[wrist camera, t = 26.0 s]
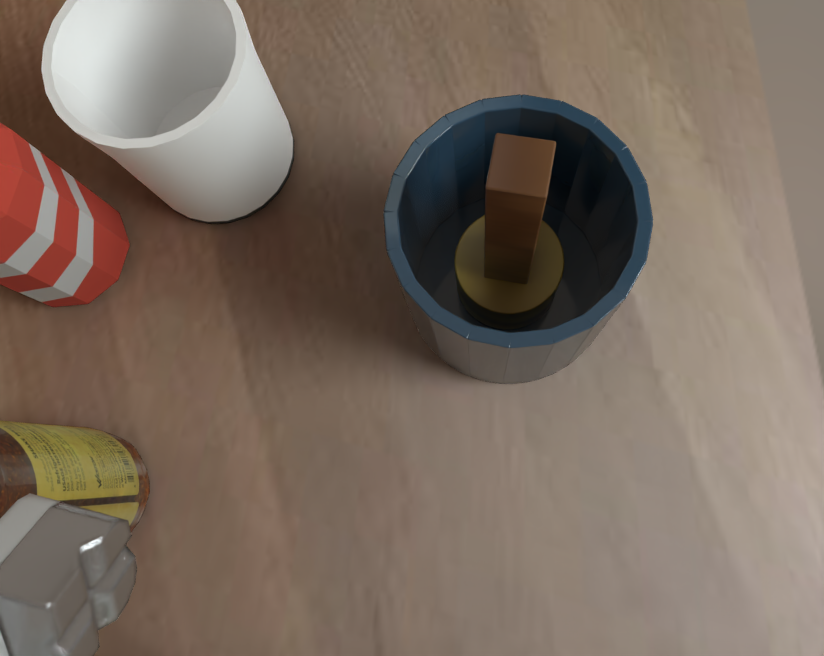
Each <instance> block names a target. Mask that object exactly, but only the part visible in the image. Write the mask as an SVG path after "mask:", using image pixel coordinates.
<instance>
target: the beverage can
mask: <svg viewBox="0 0 824 656" xmlns="http://www.w3.org/2000/svg"><path fill="white" fill-rule="evenodd" d="M129 246H130V244H129V241H128V238H127V235H126V232H125V229H124V226H123V223H122V219H121V216H120V213H119V212H118V211H116V210H115V209H114V208H112V207H111V206H110V205H109V204H107V203H106V202H105V201H103V200H102V199H101V198H99V197H98V196H97V195H96V194H94V193H93V192H92V191H90V190H89V189H88V188H86V187H85V186H84V185H83V184H81V183H80V182H79V181H77V180H76V179H75V178H74V177H72V176H71V175H70V174H68V173H67V172H66V171H64V170H63V169H62V168H61V167H59V166H58V165H57V164H55V163H54V162H53V161H51V160H50V159H49V158H48V157H46V156H45V155H44V154H42V153H41V152H40V151H38V150H37V149H36V148H35V147H33V146H32V145H31V144H29V143H28V142H27V141H26V140H24V139H23V138H22V137H20V136H19V135H18V134H16V133H15V132H14V131H13V130H11V129H10V128H8V127H6V126H5V125H3V124H1V123H0V285H3V286H5V287H7V288H10V289H12V290H14V291H17V292H19V293H21V294H24V295H26V296H28V297H30V298H33V299H35V300H37V301H40V302H42V303H44V304H47V305H49V306H51V307H59V306H69V305H80V304H89V303H90V302H91V301H93V300H94V299H95V298H96V297H98V296H99V295H100V294H101V293H103V292H104V291H105V290H106V289H107V288H109V287H110V286H111V285H112V284H114V283H115V282H116V281H117V280H118V279H119V276H120V273H121V270H122V267H123V264H124V261H125V258H126V255H127V252H128V249H129Z"/></svg>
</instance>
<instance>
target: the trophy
mask: <svg viewBox="0 0 824 656" xmlns="http://www.w3.org/2000/svg"><path fill="white" fill-rule="evenodd" d="M555 149H556V142H555V141H551V140H544V139H537V138H530V137H523V136H516V135H509V134H502V133H496V135H495V139H494V144H493V150H492V155H491V160H490V165H489V171H488V176H487V181H486V186H485V215H484V216H482V217H480V218H479V219H477V220H476V221H474V222H473V223H472V224H471V225H470V226H469V227H468V228H467V229H466V230H465V232H464V233H463V235H462V236H461V238H460V240H459V242H458V245H457V248H456V251H455V259H454V265H455V275H456V283H457V290H458V294H459V298H460V300H461V302H462V304H463V306H464V307H465V309H466V310H467V311H468V312H469V314H470V315H472V316H473V317H474V318H475V319H476V320H478V321H479V322H481V323H483V324H485V325H487V326H489V327H492V328H497V329H504V330H506V329H517V328H521V327H525V326H527V325H529V324H531V323H533V322H535V321H536V320H538V319H539V318H540V317H541V316H542V315H543V314H544V313H545V312H546V311H547V310H548V308H549V307H550V305H551V303H552V302H553V299H554V297H555V294H556V291H557V289H558V286H559V284H560V281H561V278H562V275H563V271H564V253H563V249H562V246H561V243H560V241H559V239H558V237H557V235H556V234H555V232H554V231H553V230H552V228H551V227H550V226H549V225H548V224H547V223H545V222H544V221H543V220H542V217H543V213H544V208H545V204H546V200H547V195H548V189H549V183H550V178H551V172H552V166H553V160H554V155H555Z"/></svg>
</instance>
